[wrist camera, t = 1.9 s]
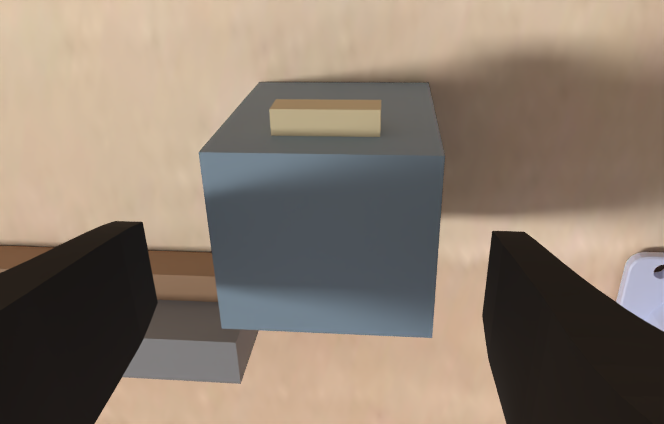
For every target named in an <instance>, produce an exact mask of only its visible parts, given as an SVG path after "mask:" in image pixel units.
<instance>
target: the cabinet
mask: <svg viewBox="0 0 664 424" xmlns="http://www.w3.org/2000/svg"><path fill="white" fill-rule="evenodd" d="M199 158H200V166H201V174H202V181H203V189H204V197H205V204H206V212H207V220H208V227H209V235H210V242H211V250H212V258H213V265H214V273H215V281H216V288H217V296H218V304H219V311H220V319H221V327H222V329H244V330H267V331H289V332H311V333H334V334H356V335H379V336H401V337H424V338H432V331H433V317H434V303H435V289H436V275H437V260H438V246H439V232H440V218H441V204H442V190H443V176H444V162H445V154H444V150H443V145H442V141H441V136H440V132H439V127H438V123H437V118H436V114H435V109H434V105H433V100H432V96H431V91H430V87H429V83H395V82H259V83H258V84H257V85H256V87H255V88H254V89H253V90H252V91H251V92H250V94H249V95H248V96H247V97H246V98H245V99H244V100H243V102H242V103H241V104H240V105H239V106H238V107H237V109H236V110H235V111H234V112H233V113H232V114H231V115H230V117H229V118H228V119H227V120H226V121H225V122H224V124H223V125H222V126H221V127H220V128H219V129H218V131H217V132H216V133H215V134H214V135H213V136H212V137H211V139H210V140H209V141H208V142H207V143H206V144H205V146H204V147H203V148H202V149H201V150H200V151H199Z"/></svg>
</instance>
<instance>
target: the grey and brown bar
mask: <svg viewBox="0 0 664 424" xmlns="http://www.w3.org/2000/svg"><path fill="white" fill-rule="evenodd" d="M53 248H55V247H26V246H0V273H1V272H3V271H6V270H8V269H10V268H12V267H15V266H17V265H19V264H21V263H23V262H26V261H28V260H30V259H32V258H34V257H36V256H38V255H40V254H42V253H45V252H47V251H49V250H51V249H53ZM148 253H149V259H150V264H151V269H152V275H153V280H154V285H155V290H156V296H157V301H158V303H157V306H156V309H155V311H154V314H153V317H152V319H151V322H150V325H149V327H148V329H147V332H146V334H145V337H144V339H143V341H142V343H141V345H140V347H139V349H138V350H137V352H136V354H135V356H134V357H133V359H132V361H131V363H130V364H129V366H128V368H127V370H126V371H125V373H124V375H123V376H122V377H129V378H148V379H166V380H184V381H202V382H220V383H238V384H241V381H242V378H243V375H244V372H245V369H246V366H247V363H248V360H249V357H250V354H251V352H252V349H253V346H254V343H255V340H256V337H257V334H258V331H259V330H244V329H222V327H221V319H220V311H219V304H218V296H217V288H216V281H215V273H214V265H213V258H212V253H209V252H178V251H148Z"/></svg>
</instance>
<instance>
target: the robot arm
mask: <svg viewBox="0 0 664 424" xmlns="http://www.w3.org/2000/svg"><path fill="white" fill-rule="evenodd" d="M659 265H664V252H640V253H636V254H634V255H632V256H631V257H630V258H629V259H628V260H627V262H626V264H625V267H624V271H623V276H622V280H621V284H620V288H619V292H618V296H617V300H616V302H615V301H614V300H612V299H611V298H609V297H608V296H606V295H605V294H603V293H602V292H601V291H599V290H598V289H597V288H595V287H594V286H592V285H591V284H590V283H588V282H587V281H586V280H584V279H583V278H582V277H580V276H579V275H578V274H577V273H575V272H574V271H573V270H571V269H570V268H569V267H568V266H566V265H565V264H564V263H563V262H561V261H560V260H559V259H558V258H557V257H555V256H554V255H553V254H552V253H550V252H549V251H548V250H547V249H546V248H544V247H543V246H542V245H541V244H539V243H538V242H537V241H536V240H535V239H533V238H532V237H531V236H529V235H528V234H526V233H525V232H512V231H492V238H491V247H490V255H489V264H488V272H487V281H486V289H485V298H484V306H483V314H482V316H483V324H484V332H485V339H486V346H487V353H488V359H489V363H490V366H491V370H492V374H493V377H494V381H495V384H496V388H497V392H498V395H499V399H500V402H501V406H502V409H503V413H504V416H505V420H506V423H507V424H664V269H663V270H662V271H660V272H653V271H654V270H655V268H656V267H658V266H659ZM157 303H158V301H157V296H156V290H155V285H154V280H153V275H152V269H151V264H150V259H149V253H148V248H147V243H146V238H145V232H144V227H143V222H124V221H114V222H111V223H108V224H105V225H102V226H100V227H98V228H95V229H93V230H91V231H88V232H86V233H84V234H82V235H80V236H78V237H76V238H74V239H71V240H69V241H67V242H65V243H63V244H61V245H59V246H57V247H55V248H53V249H51V250H49V251H47V252H45V253H42V254H40V255H38V256H36V257H34V258H32V259H30V260H28V261H26V262H23V263H21V264H19V265H17V266H15V267H12V268H10V269H8V270H6V271H3V272H1V273H0V424H95V422H96V420H97V419H98V417H99V415H100V413H101V412H102V410H103V408H104V407H105V405H106V403H107V402H108V400H109V398H110V397H111V395H112V393H113V392H114V390H115V388H116V386H117V385H118V383H119V381H120V380H121V378H122V376H123V375H124V373H125V371H126V370H127V368H128V366H129V364H130V363H131V361H132V359H133V357H134V356H135V354H136V352H137V350H138V349H139V347H140V345H141V343H142V341H143V339H144V337H145V334H146V332H147V329H148V327H149V325H150V322H151V319H152V317H153V314H154V311H155V309H156V306H157Z"/></svg>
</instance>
